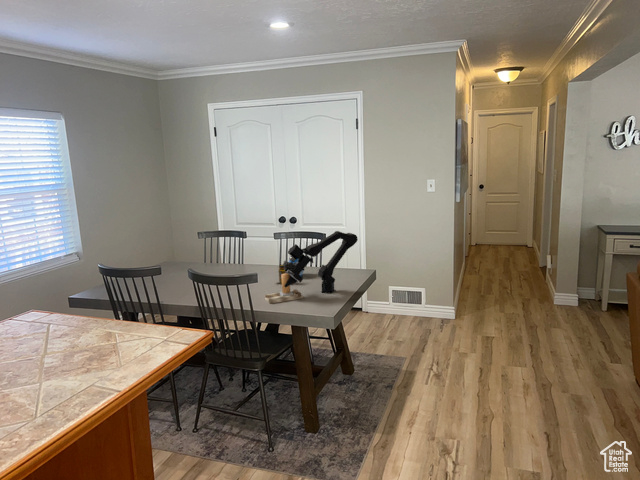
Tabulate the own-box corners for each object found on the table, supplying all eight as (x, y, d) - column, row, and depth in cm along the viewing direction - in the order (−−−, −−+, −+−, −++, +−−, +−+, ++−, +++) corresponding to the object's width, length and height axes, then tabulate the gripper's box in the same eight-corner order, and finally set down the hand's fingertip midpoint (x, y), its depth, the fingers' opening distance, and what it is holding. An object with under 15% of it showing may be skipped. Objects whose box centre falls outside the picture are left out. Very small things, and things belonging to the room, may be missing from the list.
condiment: (291, 283, 295) (290, 265, 293) (279, 286, 290) (278, 267, 288) (285, 281, 301) (284, 263, 299) (274, 283, 296) (273, 265, 294)
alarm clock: (296, 279, 304) (295, 256, 302) (287, 278, 307) (286, 256, 304) (304, 274, 316) (303, 252, 313) (296, 273, 318) (295, 252, 316)
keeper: (290, 293, 268) (288, 272, 265) (293, 296, 262) (291, 274, 260) (280, 295, 266) (278, 273, 263) (283, 298, 260) (281, 276, 258)
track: (297, 294, 271) (297, 289, 270) (302, 298, 263) (302, 293, 262) (265, 299, 264) (264, 294, 264) (269, 303, 256) (268, 298, 255)
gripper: (285, 252, 270) (268, 273, 268) (296, 258, 253) (277, 281, 251) (299, 264, 274) (282, 285, 272) (310, 270, 257) (292, 293, 255)
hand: (283, 285), depth 262 cm, fingers closed on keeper, 4 cm apart
